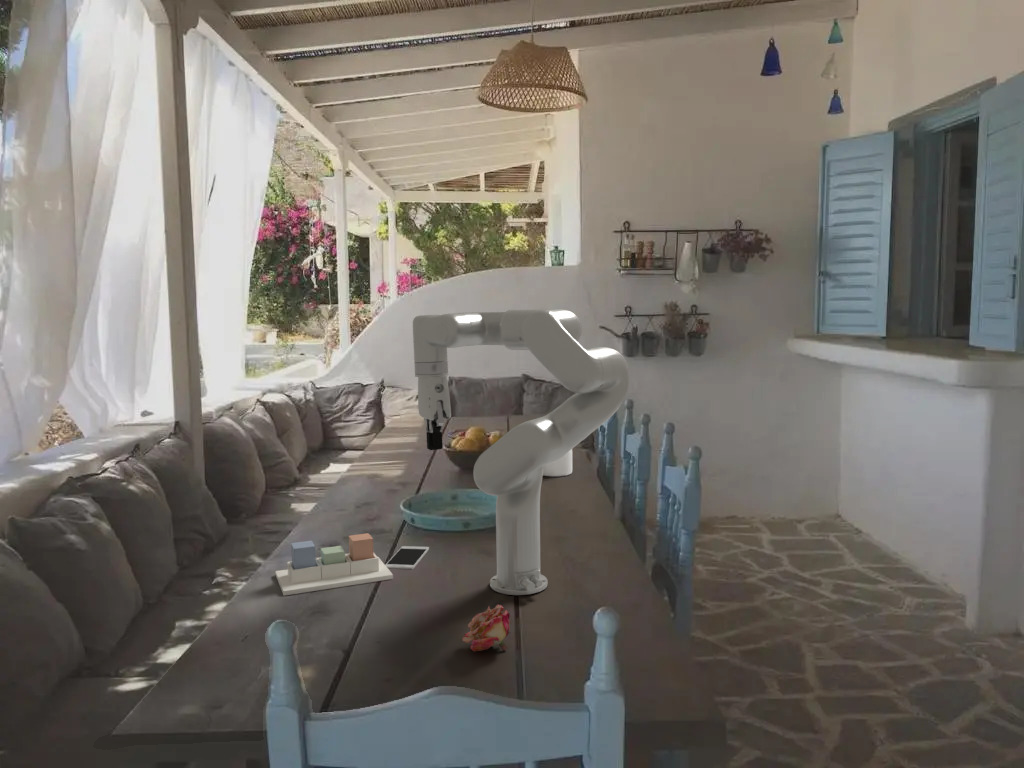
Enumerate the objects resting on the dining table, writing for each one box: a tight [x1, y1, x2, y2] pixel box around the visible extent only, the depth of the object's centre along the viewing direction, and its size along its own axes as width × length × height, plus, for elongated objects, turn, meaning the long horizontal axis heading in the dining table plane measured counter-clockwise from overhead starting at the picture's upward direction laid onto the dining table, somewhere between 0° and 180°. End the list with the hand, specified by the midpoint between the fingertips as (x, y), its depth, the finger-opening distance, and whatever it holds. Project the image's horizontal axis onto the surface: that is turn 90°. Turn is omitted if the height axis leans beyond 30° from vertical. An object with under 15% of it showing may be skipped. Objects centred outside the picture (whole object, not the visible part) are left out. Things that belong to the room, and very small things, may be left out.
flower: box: [462, 604, 512, 653], centre depth 146 cm, size 10×9×8 cm
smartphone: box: [384, 545, 430, 570], centre depth 198 cm, size 7×16×1 cm, turn 171°
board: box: [274, 551, 394, 596], centre depth 185 cm, size 14×24×4 cm, turn 113°
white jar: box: [543, 448, 573, 478], centre depth 287 cm, size 12×12×20 cm
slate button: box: [290, 540, 317, 569], centre depth 182 cm, size 5×5×5 cm
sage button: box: [320, 545, 346, 565], centre depth 185 cm, size 5×5×5 cm
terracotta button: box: [348, 532, 374, 561], centre depth 187 cm, size 5×5×5 cm
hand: (434, 448), depth 186 cm, fingers closed
